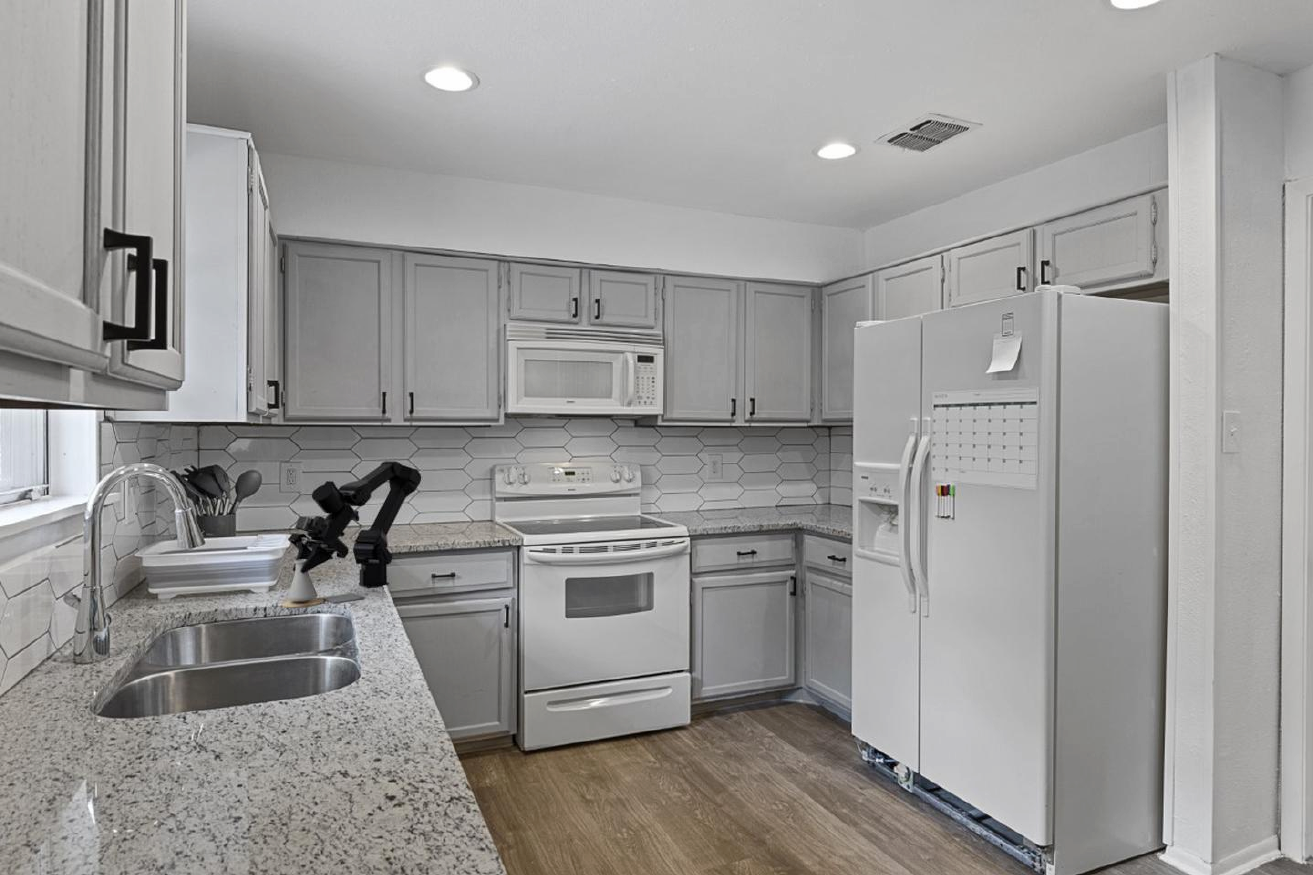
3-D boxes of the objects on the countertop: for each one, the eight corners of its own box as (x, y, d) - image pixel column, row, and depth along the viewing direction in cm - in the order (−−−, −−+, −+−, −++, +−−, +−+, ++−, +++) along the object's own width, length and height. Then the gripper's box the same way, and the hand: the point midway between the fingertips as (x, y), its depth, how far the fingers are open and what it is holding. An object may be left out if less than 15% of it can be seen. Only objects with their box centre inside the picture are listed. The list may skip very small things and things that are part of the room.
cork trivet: (315, 597, 209) (315, 595, 209) (329, 603, 202) (329, 601, 202) (275, 602, 203) (275, 601, 203) (288, 609, 195) (288, 607, 195)
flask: (323, 596, 205) (322, 558, 205) (304, 602, 198) (304, 563, 198) (299, 595, 207) (298, 557, 206) (280, 601, 200) (279, 562, 199)
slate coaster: (352, 594, 212) (352, 593, 212) (364, 599, 207) (364, 597, 207) (322, 598, 207) (322, 597, 207) (333, 603, 201) (333, 602, 201)
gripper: (294, 502, 210) (255, 549, 201) (337, 506, 200) (298, 556, 191) (320, 528, 217) (284, 575, 208) (364, 533, 207) (328, 582, 198)
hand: (297, 571), depth 201 cm, fingers closed on flask, 3 cm apart
